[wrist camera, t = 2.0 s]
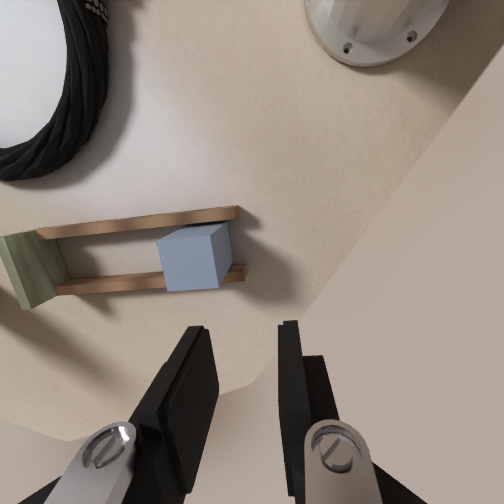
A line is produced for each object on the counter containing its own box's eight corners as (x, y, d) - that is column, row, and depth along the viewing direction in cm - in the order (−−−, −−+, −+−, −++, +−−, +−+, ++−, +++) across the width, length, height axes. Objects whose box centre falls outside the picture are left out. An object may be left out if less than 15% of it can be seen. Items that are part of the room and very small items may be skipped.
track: (237, 205, 29) (228, 211, 24) (246, 273, 32) (240, 294, 26) (43, 227, 33) (-7, 237, 27) (64, 288, 35) (21, 309, 29)
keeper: (227, 221, 30) (210, 235, 22) (233, 261, 31) (218, 287, 24) (186, 225, 31) (156, 240, 23) (194, 264, 32) (167, 291, 24)
